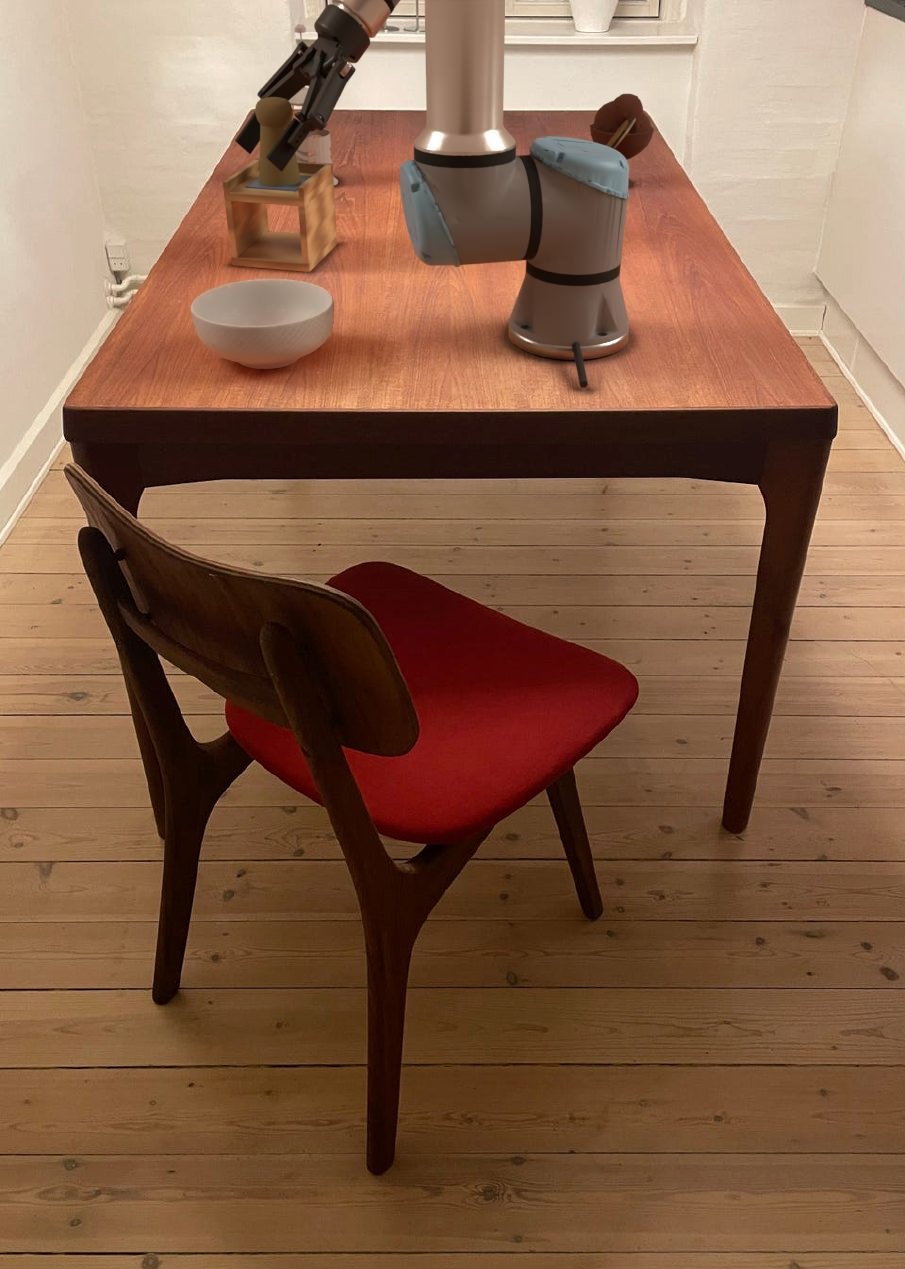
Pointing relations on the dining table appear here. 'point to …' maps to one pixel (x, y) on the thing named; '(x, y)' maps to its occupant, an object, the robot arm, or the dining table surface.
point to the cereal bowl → (264, 321)
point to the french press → (313, 144)
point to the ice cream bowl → (614, 117)
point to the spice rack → (251, 219)
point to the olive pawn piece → (273, 123)
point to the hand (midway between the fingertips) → (257, 155)
